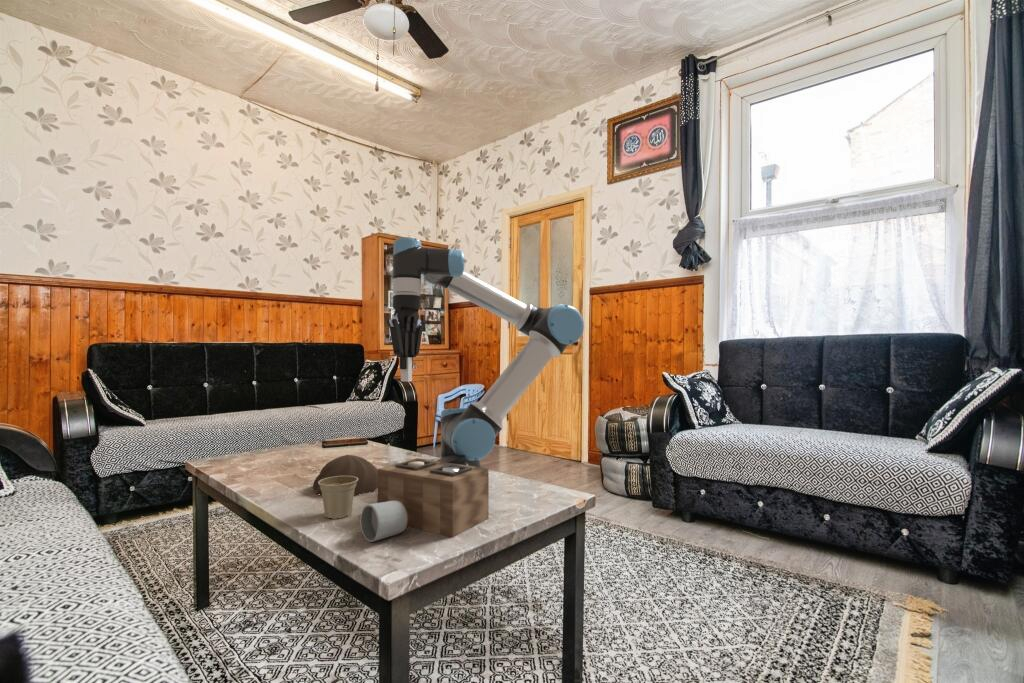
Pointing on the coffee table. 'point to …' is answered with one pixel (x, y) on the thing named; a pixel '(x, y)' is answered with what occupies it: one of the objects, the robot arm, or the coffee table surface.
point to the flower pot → (338, 495)
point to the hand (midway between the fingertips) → (406, 381)
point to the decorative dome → (351, 473)
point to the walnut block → (437, 494)
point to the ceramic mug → (383, 520)
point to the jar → (455, 459)
